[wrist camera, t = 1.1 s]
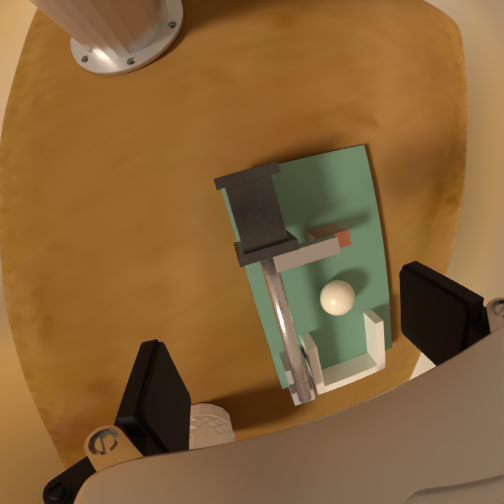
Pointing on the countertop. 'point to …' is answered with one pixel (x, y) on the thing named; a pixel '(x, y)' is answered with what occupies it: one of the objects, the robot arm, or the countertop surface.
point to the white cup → (209, 426)
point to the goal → (351, 367)
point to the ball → (337, 297)
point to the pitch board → (326, 259)
